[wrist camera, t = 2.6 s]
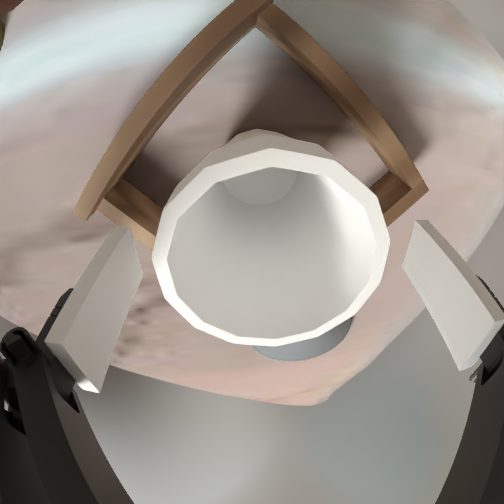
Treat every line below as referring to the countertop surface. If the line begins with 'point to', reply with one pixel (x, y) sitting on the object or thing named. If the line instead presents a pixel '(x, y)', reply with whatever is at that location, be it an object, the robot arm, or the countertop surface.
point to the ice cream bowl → (8, 5)
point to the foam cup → (269, 241)
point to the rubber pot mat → (307, 345)
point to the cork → (1, 34)
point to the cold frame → (190, 73)
